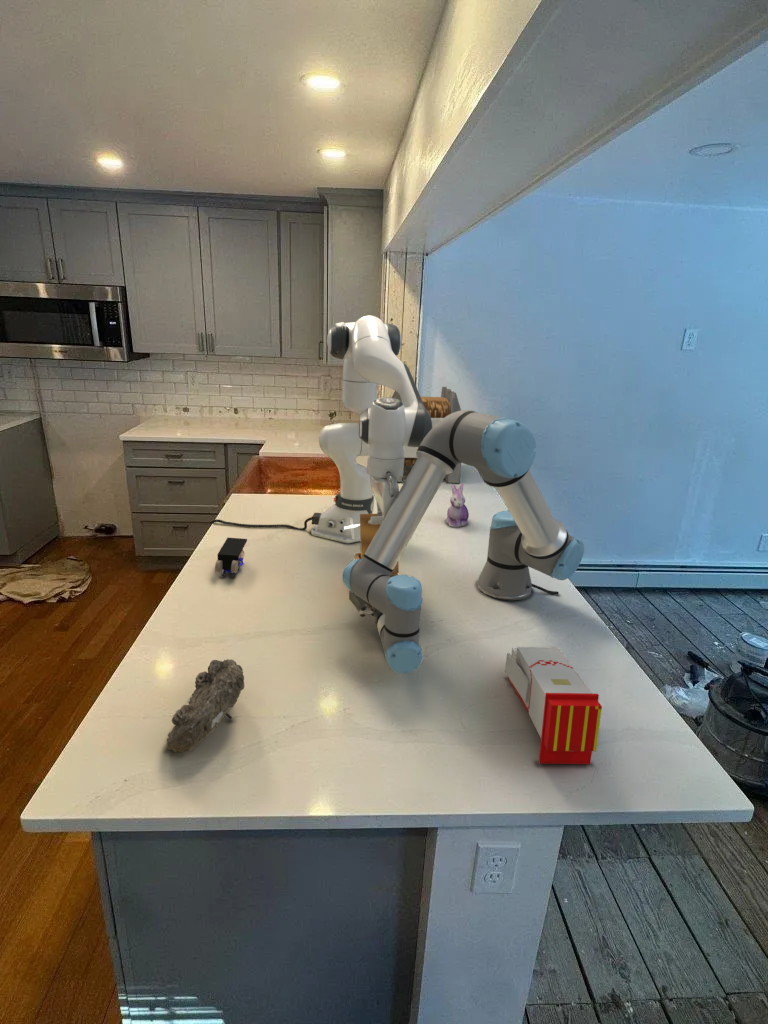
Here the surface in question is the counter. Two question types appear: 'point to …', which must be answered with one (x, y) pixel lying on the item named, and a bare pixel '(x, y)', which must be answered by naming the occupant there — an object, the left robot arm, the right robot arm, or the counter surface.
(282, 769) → the counter surface
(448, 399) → the transformer
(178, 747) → the grey brown lumpy piece
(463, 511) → the figurine
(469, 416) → the right robot arm
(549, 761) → the toy
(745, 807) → the counter surface
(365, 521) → the lid
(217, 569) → the figurine character
